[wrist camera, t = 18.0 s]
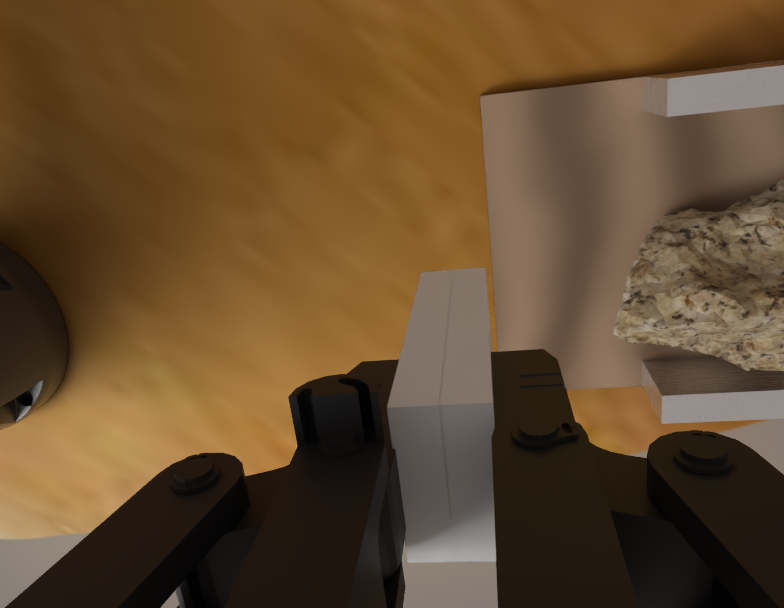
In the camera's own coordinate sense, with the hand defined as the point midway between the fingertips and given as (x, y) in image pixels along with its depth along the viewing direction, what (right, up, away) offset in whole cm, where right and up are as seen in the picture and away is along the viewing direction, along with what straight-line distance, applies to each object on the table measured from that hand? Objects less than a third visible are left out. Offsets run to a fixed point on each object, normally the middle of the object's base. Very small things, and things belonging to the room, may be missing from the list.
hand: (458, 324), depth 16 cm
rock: (+17, +4, +24) cm, 30 cm away
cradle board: (+16, +5, +25) cm, 30 cm away
